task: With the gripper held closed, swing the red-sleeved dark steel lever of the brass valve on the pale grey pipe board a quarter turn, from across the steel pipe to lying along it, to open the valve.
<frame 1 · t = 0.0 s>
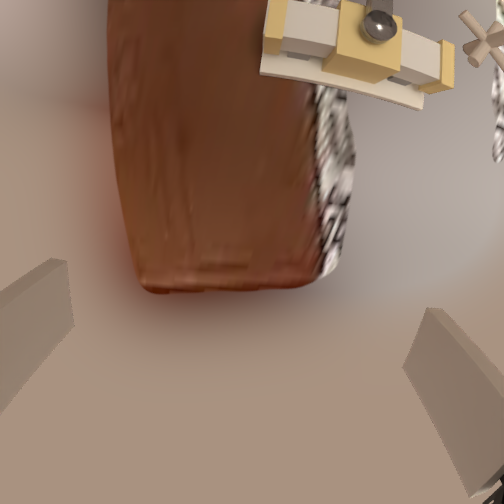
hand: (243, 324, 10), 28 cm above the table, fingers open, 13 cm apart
pipe connector: (466, 50, 29), on the table
valve base: (347, 56, 31), on the table
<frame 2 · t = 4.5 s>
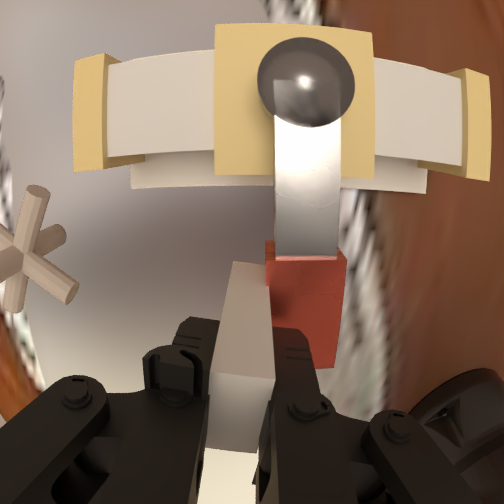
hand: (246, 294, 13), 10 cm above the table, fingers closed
pipe connector: (59, 234, 23), on the table
valve lever: (304, 211, 11), point 11 cm above the table, hinge at 1.0°, touching gripper
valve base: (282, 117, 20), on the table
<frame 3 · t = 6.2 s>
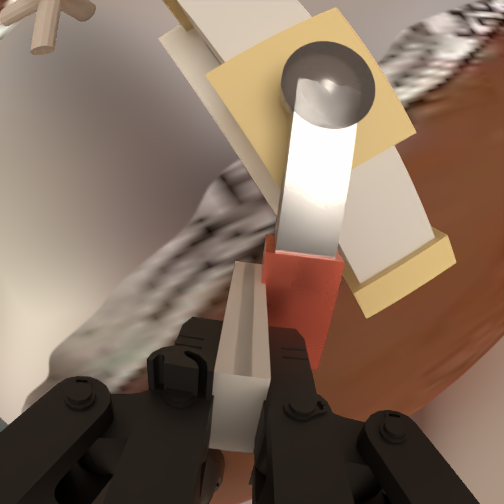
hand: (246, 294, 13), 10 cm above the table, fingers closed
pipe connector: (87, 13, 17), on the table
valve lever: (308, 209, 11), point 11 cm above the table, hinge at 51.1°, touching gripper
valve base: (296, 119, 20), on the table
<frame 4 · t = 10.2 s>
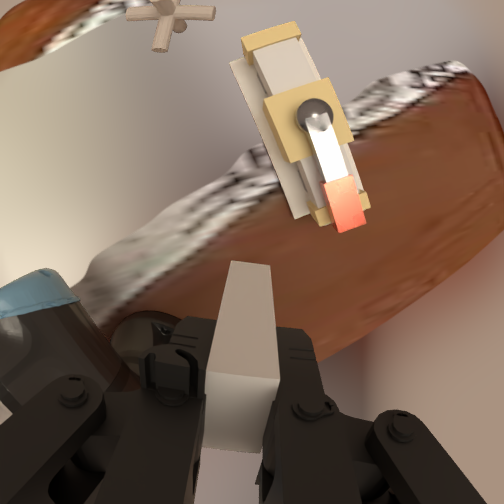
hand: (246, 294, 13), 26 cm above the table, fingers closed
pipe connector: (180, 27, 31), on the table
valve lever: (330, 163, 26), point 11 cm above the table, hinge at 88.0°
valve base: (298, 126, 35), on the table
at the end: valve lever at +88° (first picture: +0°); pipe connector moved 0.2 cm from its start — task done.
